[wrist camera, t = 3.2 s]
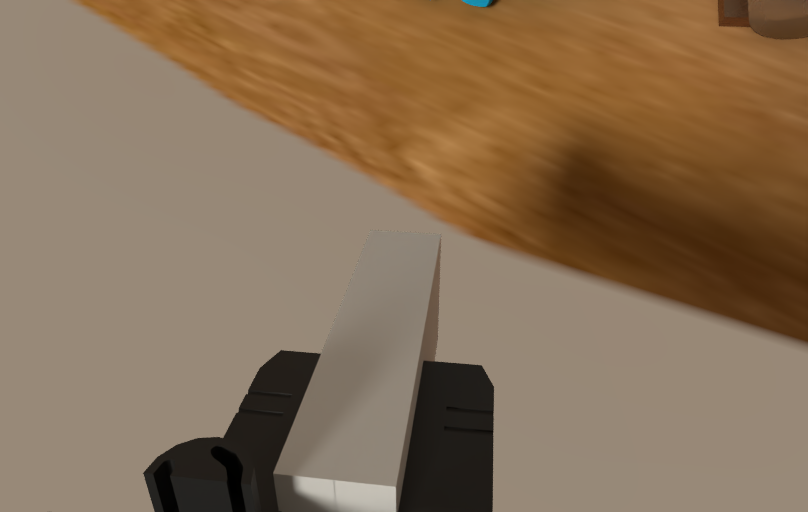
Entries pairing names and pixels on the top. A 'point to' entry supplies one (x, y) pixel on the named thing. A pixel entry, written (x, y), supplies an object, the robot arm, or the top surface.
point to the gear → (478, 2)
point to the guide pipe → (767, 17)
